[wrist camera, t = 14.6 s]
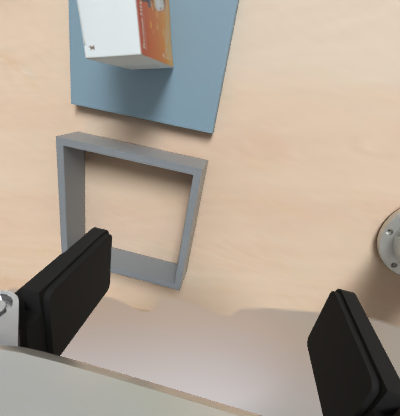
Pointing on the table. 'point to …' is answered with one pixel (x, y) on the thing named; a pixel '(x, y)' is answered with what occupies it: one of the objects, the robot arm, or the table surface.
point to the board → (163, 69)
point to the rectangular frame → (75, 201)
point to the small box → (127, 32)
